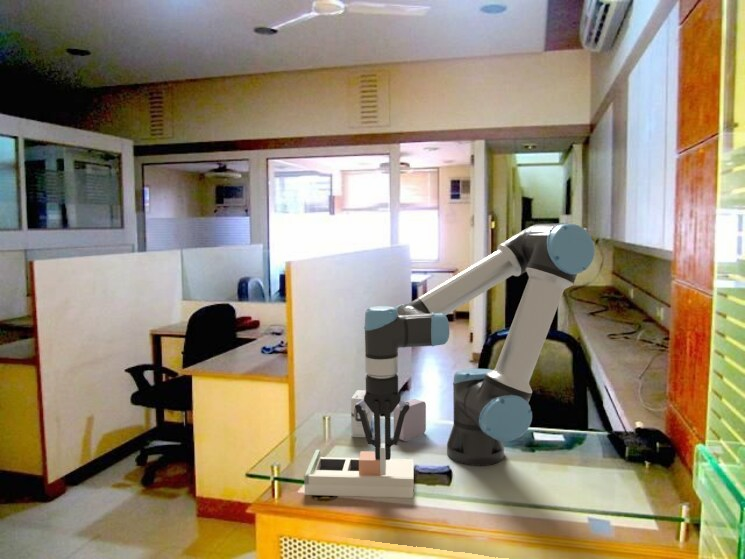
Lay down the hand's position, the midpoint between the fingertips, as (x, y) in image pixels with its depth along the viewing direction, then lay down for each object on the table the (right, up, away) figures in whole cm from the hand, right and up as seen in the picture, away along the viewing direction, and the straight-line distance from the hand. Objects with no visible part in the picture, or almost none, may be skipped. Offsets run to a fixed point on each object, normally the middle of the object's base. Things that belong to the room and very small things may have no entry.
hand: (383, 472), depth 127 cm
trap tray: (-5, -4, +4) cm, 8 cm away
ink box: (-6, -1, +36) cm, 36 cm away
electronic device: (+8, -1, +33) cm, 34 cm away
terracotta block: (-3, -1, +2) cm, 4 cm away
